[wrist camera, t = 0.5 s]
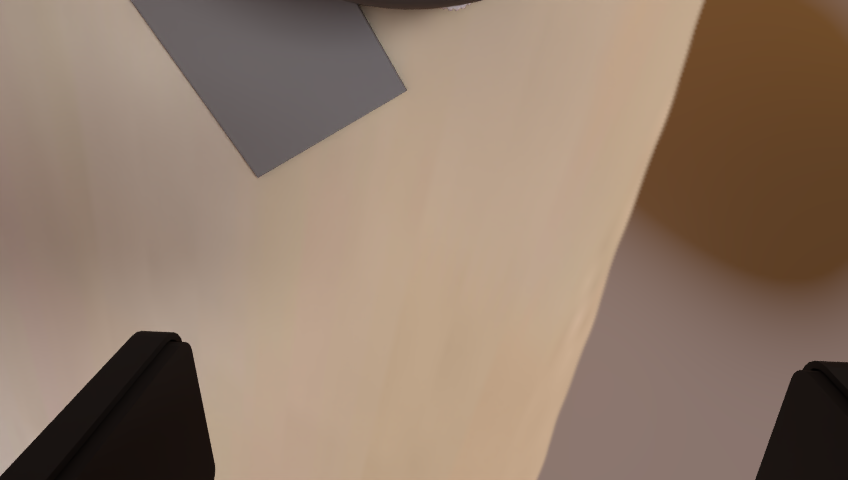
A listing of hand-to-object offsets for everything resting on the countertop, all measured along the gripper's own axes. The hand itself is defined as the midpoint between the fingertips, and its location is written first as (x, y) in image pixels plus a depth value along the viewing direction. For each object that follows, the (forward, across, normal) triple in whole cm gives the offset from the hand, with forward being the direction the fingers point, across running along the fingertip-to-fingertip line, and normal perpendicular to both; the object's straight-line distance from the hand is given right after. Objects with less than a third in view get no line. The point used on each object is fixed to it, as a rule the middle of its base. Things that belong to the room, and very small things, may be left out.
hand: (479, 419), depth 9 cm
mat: (+26, +12, -5) cm, 30 cm away
